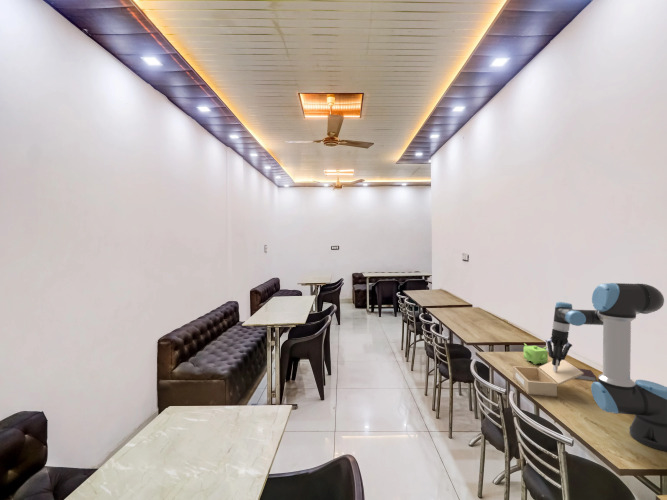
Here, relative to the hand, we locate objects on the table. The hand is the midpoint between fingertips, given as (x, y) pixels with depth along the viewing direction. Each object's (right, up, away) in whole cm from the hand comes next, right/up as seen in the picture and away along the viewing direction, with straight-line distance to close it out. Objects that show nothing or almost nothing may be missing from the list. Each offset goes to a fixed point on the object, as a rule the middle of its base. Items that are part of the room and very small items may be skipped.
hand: (554, 370), depth 179 cm
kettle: (+14, -9, +39) cm, 43 cm away
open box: (-11, -10, +2) cm, 15 cm away
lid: (+2, +1, 0) cm, 3 cm away
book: (+25, -10, +18) cm, 32 cm away
